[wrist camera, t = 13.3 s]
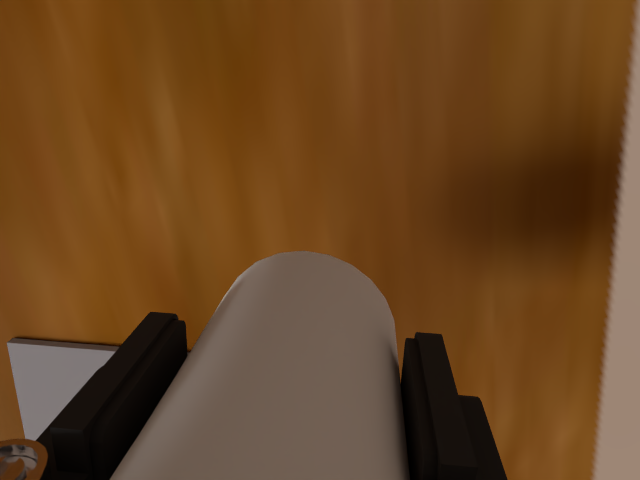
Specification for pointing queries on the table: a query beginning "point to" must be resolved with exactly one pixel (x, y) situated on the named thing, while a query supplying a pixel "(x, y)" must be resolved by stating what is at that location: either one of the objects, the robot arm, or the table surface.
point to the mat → (51, 377)
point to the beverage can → (283, 384)
